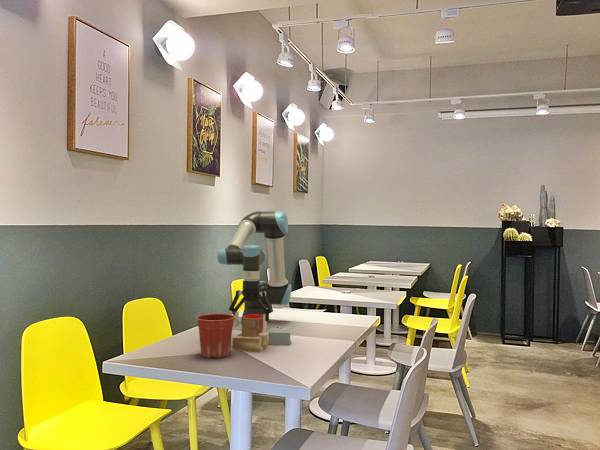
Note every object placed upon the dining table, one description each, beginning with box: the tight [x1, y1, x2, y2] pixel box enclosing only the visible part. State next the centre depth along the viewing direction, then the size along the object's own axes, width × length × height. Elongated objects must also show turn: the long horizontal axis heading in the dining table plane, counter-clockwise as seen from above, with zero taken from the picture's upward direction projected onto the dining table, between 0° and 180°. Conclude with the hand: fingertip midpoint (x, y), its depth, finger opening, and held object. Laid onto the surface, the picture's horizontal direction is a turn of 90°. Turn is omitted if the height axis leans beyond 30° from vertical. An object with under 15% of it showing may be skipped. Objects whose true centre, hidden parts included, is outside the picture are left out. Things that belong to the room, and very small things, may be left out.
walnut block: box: [241, 318, 259, 337], centre depth 226 cm, size 6×6×7 cm
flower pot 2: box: [243, 314, 264, 333], centre depth 252 cm, size 11×11×10 cm
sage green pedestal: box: [267, 327, 291, 346], centre depth 236 cm, size 10×10×6 cm
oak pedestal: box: [232, 332, 269, 353], centre depth 226 cm, size 12×12×6 cm
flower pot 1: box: [195, 313, 235, 359], centre depth 214 cm, size 16×16×16 cm
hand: (250, 327), depth 225 cm, fingers open, 13 cm apart
